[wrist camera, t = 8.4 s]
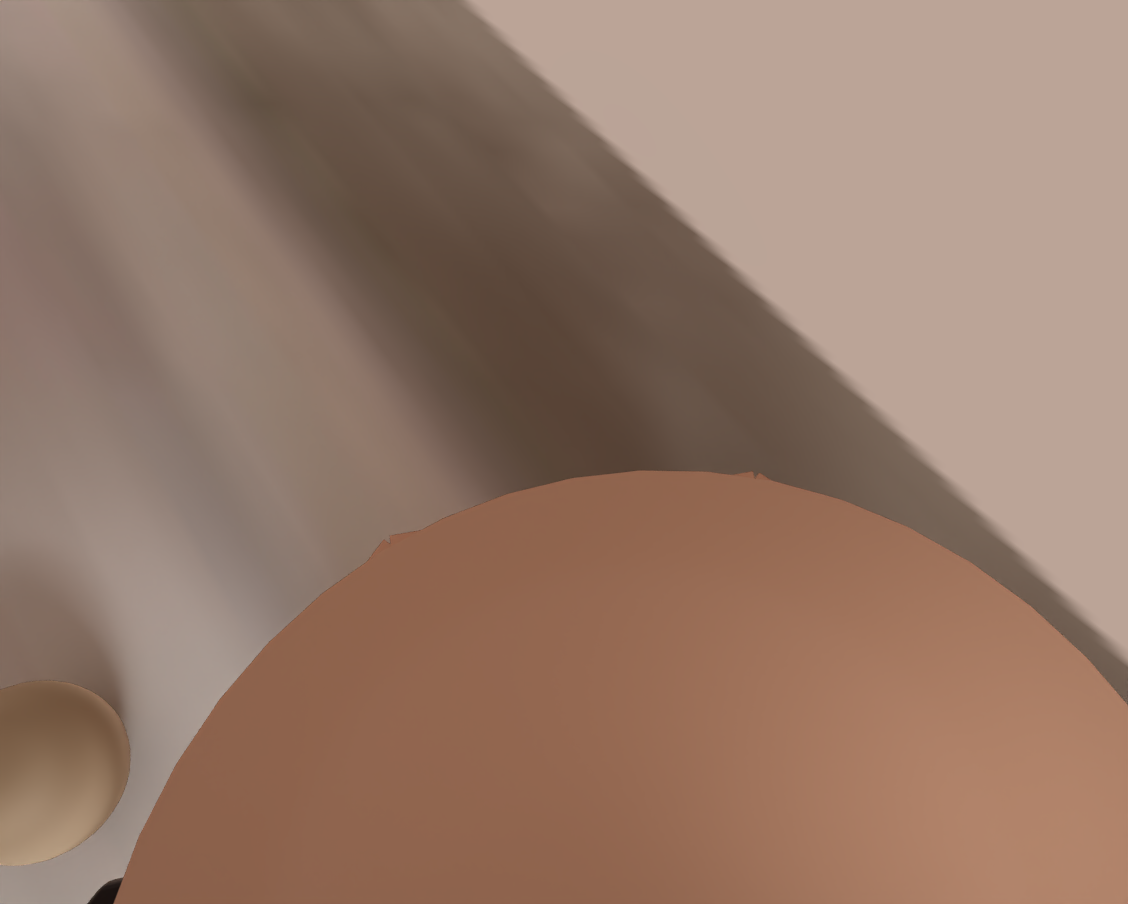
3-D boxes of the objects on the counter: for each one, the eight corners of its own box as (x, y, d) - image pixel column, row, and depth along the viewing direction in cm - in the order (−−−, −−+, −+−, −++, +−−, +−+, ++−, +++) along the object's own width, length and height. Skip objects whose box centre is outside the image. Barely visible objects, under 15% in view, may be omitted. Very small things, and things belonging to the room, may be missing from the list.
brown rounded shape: (817, 951, 16) (1516, 1705, 4) (454, 1022, 15) (105, 2038, 4) (735, 587, 17) (1071, 390, 6) (405, 647, 17) (52, 570, 5)
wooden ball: (182, 799, 17) (102, 823, 14) (29, 879, 16) (-86, 920, 14) (126, 653, 17) (38, 646, 15) (-21, 727, 17) (-142, 735, 14)
